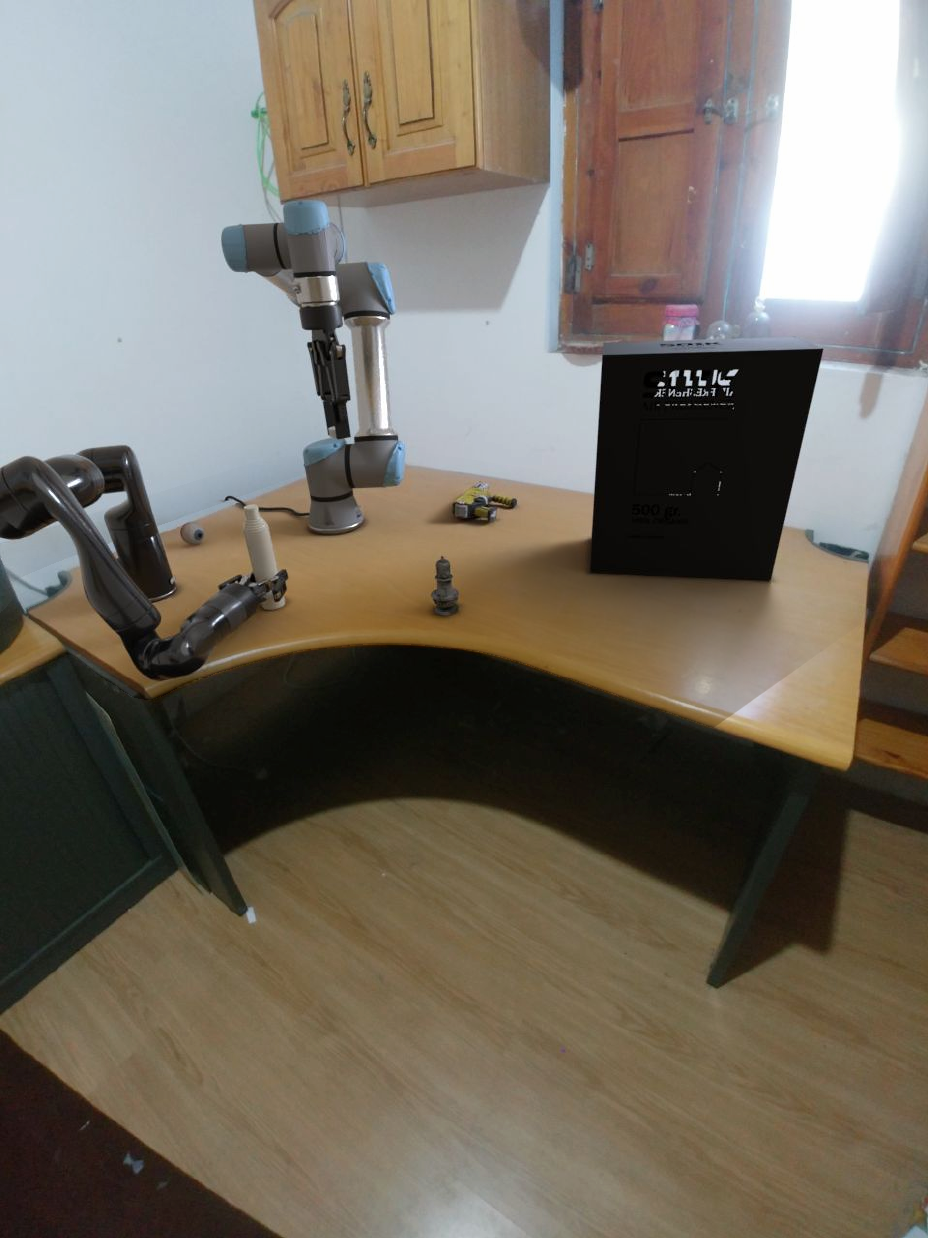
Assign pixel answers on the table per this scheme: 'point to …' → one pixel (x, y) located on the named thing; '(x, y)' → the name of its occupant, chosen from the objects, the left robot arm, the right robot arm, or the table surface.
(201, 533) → the eyeball
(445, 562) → the grey chess piece
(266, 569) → the bottle
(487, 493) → the toy gun
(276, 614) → the table surface
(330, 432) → the cap
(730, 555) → the cardboard box
